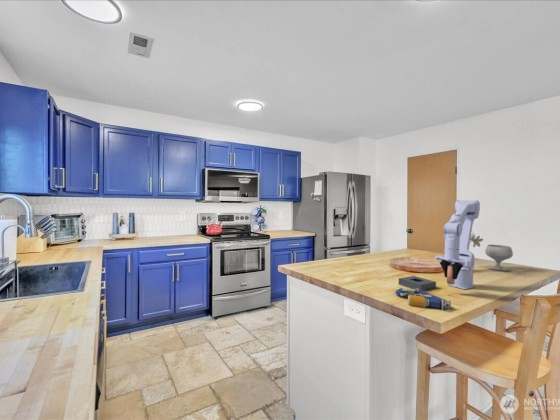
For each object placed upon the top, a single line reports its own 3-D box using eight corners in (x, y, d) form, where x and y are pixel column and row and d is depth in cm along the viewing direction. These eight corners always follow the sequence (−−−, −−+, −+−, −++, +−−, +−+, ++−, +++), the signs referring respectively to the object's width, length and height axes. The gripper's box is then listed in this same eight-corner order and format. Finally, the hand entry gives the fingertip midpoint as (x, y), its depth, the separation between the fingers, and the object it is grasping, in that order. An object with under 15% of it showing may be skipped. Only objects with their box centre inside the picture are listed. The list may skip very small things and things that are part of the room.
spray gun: (420, 312, 104) (454, 311, 107) (420, 301, 104) (454, 300, 107) (388, 295, 125) (417, 294, 127) (388, 286, 125) (417, 285, 127)
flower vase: (473, 275, 161) (475, 232, 161) (443, 268, 178) (444, 229, 177) (486, 273, 167) (488, 232, 166) (456, 266, 184) (457, 229, 183)
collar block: (413, 281, 146) (413, 275, 146) (435, 287, 135) (436, 281, 135) (398, 284, 140) (398, 278, 140) (420, 291, 129) (420, 284, 129)
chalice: (516, 270, 176) (517, 246, 176) (506, 272, 169) (507, 248, 169) (490, 265, 189) (491, 243, 188) (480, 267, 182) (481, 245, 181)
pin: (449, 282, 129) (449, 265, 129) (455, 283, 127) (456, 266, 126) (445, 282, 128) (446, 265, 127) (452, 284, 125) (452, 267, 125)
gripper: (431, 246, 131) (430, 275, 132) (463, 252, 118) (462, 283, 119) (440, 245, 134) (439, 273, 135) (472, 250, 122) (471, 281, 122)
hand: (450, 278), depth 127 cm, fingers closed on pin, 3 cm apart
